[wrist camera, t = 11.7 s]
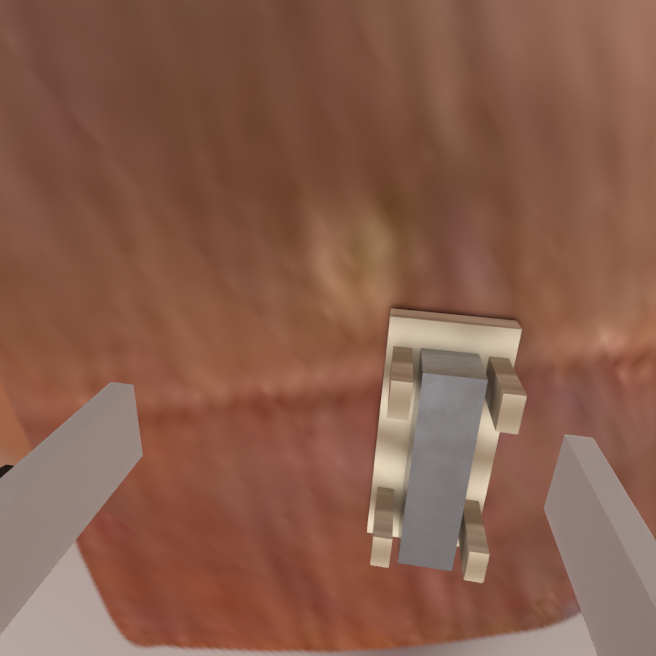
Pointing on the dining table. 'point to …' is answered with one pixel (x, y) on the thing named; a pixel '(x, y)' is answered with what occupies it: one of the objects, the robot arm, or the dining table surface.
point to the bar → (440, 456)
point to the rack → (397, 408)
